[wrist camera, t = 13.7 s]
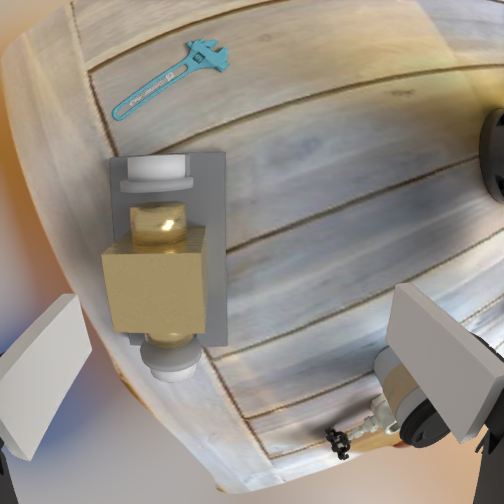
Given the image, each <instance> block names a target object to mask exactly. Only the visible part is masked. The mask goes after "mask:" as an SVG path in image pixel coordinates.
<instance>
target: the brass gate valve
mask: <svg viewBox="0 0 504 504" xmlns="http://www.w3.org/2000/svg"><path fill="white" fill-rule="evenodd" d="M130 221H131V229H130V230H129V231H127V232H126V233H125V234H124V235H123V236H122V237H120V238H119V239H118V240H117V241H116V242H115V243H114V244H112V245H111V246H110V247H109V248H108V249H107V250H106V251H105V252H104V253H102V254H101V258H102V265H103V272H104V278H105V285H106V291H107V296H108V302H109V307H110V312H111V317H112V322H113V327H114V332H128V333H144V334H145V339H146V341H147V343H149V344H150V345H151V346H153V347H156V348H161V349H172V348H178V347H181V346H183V345H185V344H187V343H189V342H190V341H191V340H192V338H193V336H194V334H197V333H205V329H206V315H207V303H208V291H209V287H208V263H207V232H206V226H194V227H187V219H186V203H185V202H180V201H155V202H146V203H140V204H136V205H132V206H130Z"/></svg>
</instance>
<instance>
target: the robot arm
mask: <svg viewBox="0 0 504 504" xmlns="http://www.w3.org/2000/svg"><path fill="white" fill-rule="evenodd" d="M480 164H481V170H482V174H483V178H484V181H485V184H486V186H487V188H488V190H489V192H490V194H491V195H492V196H493V198H494V199H495V200H497V201H498V202H499V203H502V204H504V108H502V109H496V110H494V111H493V112H491V113H490V114H489V116H488V117H487V119H486V121H485V123H484V125H483V128H482V132H481V138H480ZM385 340H386V342H387V343H388V344H389V346H390V347H391V348H392V350H393V351H394V352H395V354H396V355H397V356H398V358H399V359H400V360H401V362H402V363H403V364H404V366H405V367H406V368H407V370H408V371H409V372H410V374H411V375H412V376H413V378H414V379H415V381H416V382H417V383H418V385H419V386H420V388H421V389H422V390H423V392H424V393H425V394H426V396H427V397H428V399H429V400H430V401H431V403H432V404H433V406H434V407H435V409H436V410H437V411H438V413H439V414H440V416H441V417H442V419H443V420H444V422H445V423H446V424H447V426H448V427H449V429H450V430H451V432H452V433H453V435H454V436H455V437H456V439H457V441H458V442H459V444H461V443H463V442H466V441H468V440H470V439H472V438H474V437H476V436H477V435H478V433H479V431H480V430H481V428H482V426H483V425H484V424H485V425H486V426H487V428H488V431H487V433H486V434H485V436H484V437H483V439H482V440H481V442H480V443H479V445H478V447H477V448H476V451H475V452H476V453H478V451H479V450H480V448H481V447H482V446H483V445H484V446H483V451H482V460H481V467H480V472H479V477H478V483H477V487H476V492H475V497H474V501H473V504H504V358H503V357H502V356H501V355H500V354H499V353H496V351H495V350H494V349H493V348H492V347H489V344H488V343H486V342H485V341H484V340H483V339H482V338H481V337H479V336H477V335H475V334H473V333H471V332H469V331H468V330H467V329H465V328H464V327H463V326H462V325H461V324H460V323H458V322H457V321H456V320H455V319H454V318H453V317H451V316H450V315H449V314H448V313H447V312H446V311H444V310H443V309H442V308H441V307H440V306H438V305H437V304H436V303H435V302H434V301H432V300H431V299H430V298H429V297H428V296H426V295H425V294H424V293H423V292H421V291H420V290H419V289H418V288H416V287H415V286H414V285H413V284H411V283H401V284H396V285H395V291H394V297H393V302H392V308H391V313H390V318H389V323H388V328H387V333H386V338H385ZM91 351H92V347H91V344H90V340H89V337H88V333H87V330H86V326H85V322H84V319H83V315H82V311H81V306H80V302H79V298H78V294H62V295H61V296H60V297H59V298H58V299H57V300H56V301H55V302H54V303H53V304H52V305H51V306H50V307H49V308H48V309H47V310H46V311H45V312H44V313H43V314H42V315H41V316H40V317H39V318H38V319H37V320H36V321H35V322H34V323H33V324H32V325H31V326H30V327H29V328H28V329H27V330H26V331H25V332H24V333H23V334H22V335H21V336H20V337H19V338H18V339H17V340H16V341H15V342H14V343H13V344H12V345H11V347H10V348H9V349H8V350H7V351H5V352H3V353H2V354H0V504H18V501H17V497H16V494H15V491H14V488H13V485H12V481H11V477H10V474H9V470H8V466H7V462H6V458H5V455H4V453H3V452H2V451H1V448H2V447H3V445H4V444H5V445H6V446H7V448H8V449H9V450H10V452H11V453H12V454H13V455H14V456H16V457H19V458H21V459H24V460H27V461H31V459H32V457H33V455H34V453H35V451H36V449H37V447H38V445H39V443H40V441H41V439H42V437H43V435H44V433H45V431H46V429H47V428H48V426H49V424H50V422H51V420H52V418H53V416H54V415H55V413H56V411H57V409H58V407H59V406H60V404H61V402H62V400H63V398H64V397H65V395H66V393H67V391H68V390H69V388H70V386H71V385H72V383H73V381H74V379H75V378H76V376H77V374H78V373H79V371H80V369H81V368H82V366H83V364H84V362H85V361H86V359H87V358H88V356H89V354H90V353H91Z"/></svg>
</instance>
